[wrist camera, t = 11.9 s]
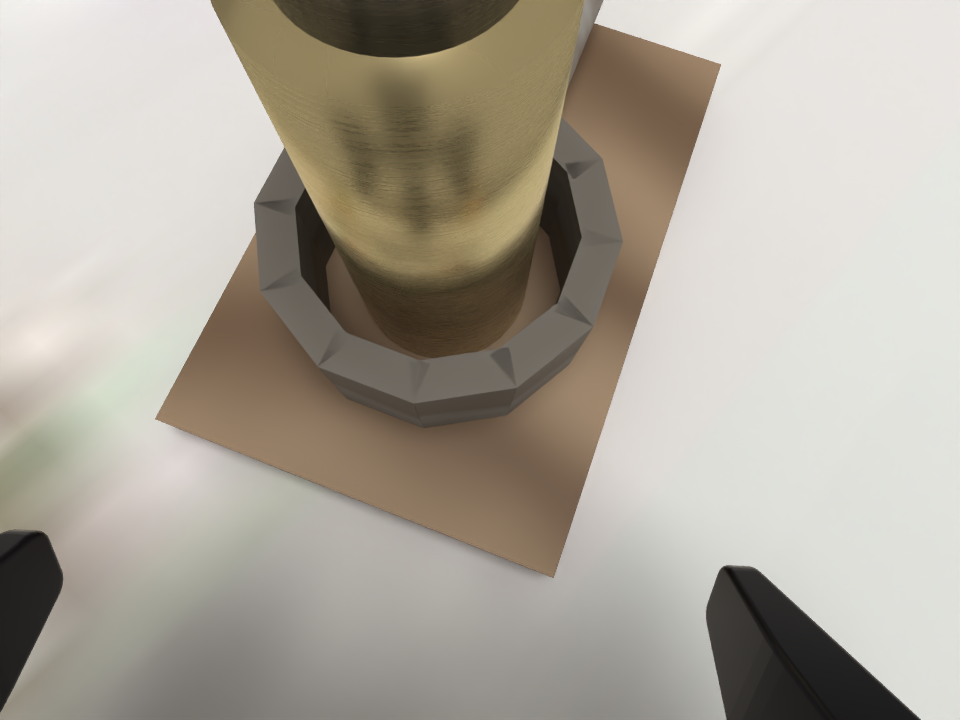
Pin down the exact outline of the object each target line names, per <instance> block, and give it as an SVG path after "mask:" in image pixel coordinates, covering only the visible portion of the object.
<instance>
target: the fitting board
mask: <svg viewBox="0 0 960 720" xmlns="http://www.w3.org/2000/svg"><path fill="white" fill-rule="evenodd" d="M602 2H603V0H585V2H584V7H583V11H582V16H581V21H580V26H579V31H578V36H577V41H576V46H575V51H574V56H573V61H572V66H571V71H570V76H569V81H568V86H567V91H566V96H565V101H564V106H563V111H562V115H561V120H560V125H559V130H558V135H557V140H556V145H555V150H554V155H553V160H552V165H551V170H550V175H549V180H548V185H547V190H546V195H545V200H544V205H543V210H542V215H541V219H540V224H539V229H538V234H537V239H536V244H535V249H534V254H533V259H532V264H531V269H530V274H529V279H528V284H527V289H526V294H525V298H524V302H523V305H522V308H521V310H520V312H519V314H518V316H517V318H516V319H515V321H514V323H513V324H512V326H511V327H510V328H509V329H508V330H507V331H506V333H505V334H504V335H502V336H501V337H500V338H499V339H498V340H497V341H495V342H494V343H492V344H491V345H489V346H488V347H486V348H484V349H482V350H480V351H478V352H473V353H466V354H460V355H453V356H446V357H439V358H431V357H425V356H421V355H418V354H415V353H412V352H410V351H408V350H405V349H403V348H402V347H400V346H398V345H397V344H395V343H394V342H393V341H391V340H390V339H389V338H388V337H386V336H385V334H384V333H383V332H382V331H381V330H380V329H379V328H378V326H377V325H376V324H375V322H374V321H373V319H372V317H371V315H370V313H369V311H368V309H367V307H366V305H365V303H364V301H363V299H362V297H361V295H360V293H359V291H358V290H357V288H356V286H355V284H354V282H353V280H352V278H351V276H350V274H349V272H348V270H347V268H346V266H345V264H344V262H343V260H342V258H341V256H340V254H339V252H338V250H337V249H336V247H335V245H334V243H333V241H332V239H331V237H330V235H329V233H328V231H327V229H326V227H325V225H324V223H323V221H322V219H321V217H320V215H319V213H318V211H317V209H316V207H315V206H314V204H313V202H312V200H311V198H310V196H309V194H308V192H307V190H306V188H305V186H304V184H303V182H302V180H301V178H300V176H299V174H298V172H297V170H296V168H295V166H294V164H293V163H292V161H291V159H290V157H289V155H288V153H287V151H286V149H285V147H284V149H283V151H282V153H281V155H280V157H279V158H278V160H277V162H276V164H275V166H274V167H273V169H272V171H271V173H270V175H269V177H268V178H267V180H266V182H265V184H264V186H263V187H262V189H261V191H260V193H259V195H258V197H257V198H256V200H255V202H254V210H255V225H256V233H255V235H254V237H253V238H252V240H251V242H250V244H249V246H248V248H247V250H246V251H245V253H244V255H243V257H242V259H241V261H240V263H239V264H238V266H237V268H236V270H235V272H234V274H233V276H232V277H231V279H230V281H229V283H228V285H227V287H226V289H225V290H224V292H223V294H222V296H221V298H220V300H219V301H218V303H217V305H216V307H215V309H214V311H213V313H212V314H211V316H210V318H209V320H208V322H207V324H206V326H205V327H204V329H203V331H202V333H201V335H200V337H199V339H198V340H197V342H196V344H195V346H194V348H193V350H192V351H191V353H190V355H189V357H188V359H187V361H186V363H185V364H184V366H183V368H182V370H181V372H180V374H179V376H178V377H177V379H176V381H175V383H174V385H173V387H172V389H171V390H170V392H169V394H168V396H167V398H166V400H165V401H164V403H163V405H162V407H161V409H160V411H159V413H158V414H157V416H156V418H155V419H156V420H159V421H161V422H164V423H166V424H169V425H171V426H174V427H176V428H179V429H181V430H184V431H186V432H189V433H191V434H194V435H196V436H199V437H201V438H204V439H206V440H209V441H211V442H214V443H216V444H219V445H221V446H224V447H226V448H229V449H231V450H234V451H236V452H239V453H241V454H244V455H246V456H249V457H251V458H254V459H256V460H259V461H261V462H264V463H266V464H269V465H271V466H274V467H276V468H279V469H281V470H284V471H287V472H289V473H292V474H294V475H297V476H299V477H302V478H304V479H307V480H309V481H312V482H314V483H317V484H319V485H322V486H324V487H327V488H329V489H332V490H334V491H337V492H339V493H342V494H344V495H347V496H349V497H352V498H354V499H357V500H359V501H362V502H364V503H367V504H369V505H372V506H374V507H377V508H379V509H382V510H384V511H387V512H389V513H392V514H394V515H397V516H399V517H402V518H404V519H407V520H409V521H412V522H414V523H417V524H419V525H422V526H424V527H427V528H429V529H432V530H435V531H437V532H440V533H442V534H445V535H447V536H450V537H452V538H455V539H457V540H460V541H462V542H465V543H467V544H470V545H472V546H475V547H477V548H480V549H482V550H485V551H487V552H490V553H492V554H495V555H497V556H500V557H502V558H505V559H507V560H510V561H512V562H515V563H517V564H520V565H522V566H525V567H527V568H530V569H532V570H535V571H537V572H540V573H542V574H545V575H547V576H550V577H552V578H554V575H555V572H556V569H557V566H558V563H559V560H560V557H561V554H562V551H563V548H564V545H565V541H566V538H567V535H568V532H569V529H570V526H571V523H572V520H573V517H574V514H575V511H576V508H577V505H578V502H579V499H580V496H581V492H582V489H583V486H584V483H585V480H586V477H587V474H588V471H589V468H590V465H591V462H592V459H593V456H594V453H595V450H596V446H597V443H598V440H599V437H600V434H601V431H602V428H603V425H604V422H605V419H606V416H607V413H608V410H609V407H610V404H611V400H612V397H613V394H614V391H615V388H616V385H617V382H618V379H619V376H620V373H621V370H622V367H623V364H624V361H625V358H626V354H627V351H628V348H629V345H630V342H631V339H632V336H633V333H634V330H635V327H636V324H637V321H638V318H639V315H640V312H641V309H642V305H643V302H644V299H645V296H646V293H647V290H648V287H649V284H650V281H651V278H652V275H653V272H654V269H655V266H656V263H657V259H658V256H659V253H660V250H661V247H662V244H663V241H664V238H665V235H666V232H667V229H668V226H669V223H670V220H671V217H672V213H673V210H674V207H675V204H676V201H677V198H678V195H679V192H680V189H681V186H682V183H683V180H684V177H685V174H686V171H687V168H688V164H689V161H690V158H691V155H692V152H693V149H694V146H695V143H696V140H697V137H698V134H699V131H700V128H701V125H702V122H703V118H704V115H705V112H706V109H707V106H708V103H709V100H710V97H711V94H712V91H713V88H714V85H715V82H716V79H717V76H718V72H719V69H720V66H721V64H718V63H715V62H712V61H709V60H706V59H703V58H699V57H696V56H693V55H690V54H687V53H684V52H681V51H678V50H675V49H672V48H669V47H665V46H662V45H659V44H656V43H653V42H650V41H647V40H644V39H641V38H638V37H635V36H632V35H628V34H625V33H622V32H619V31H616V30H613V29H610V28H607V27H604V26H601V25H598V24H594V22H595V20H596V17H597V15H598V12H599V10H600V7H601V5H602Z"/></svg>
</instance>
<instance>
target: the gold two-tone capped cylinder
mask: <svg viewBox="0 0 960 720" xmlns="http://www.w3.org/2000/svg"><path fill="white" fill-rule="evenodd" d="M584 2H585V0H211V3H212V6H213V8H214V10H215V12H216V14H217V16H218V18H219V20H220V22H221V24H222V26H223V28H224V30H225V32H226V34H227V36H228V38H229V39H230V41H231V43H232V45H233V47H234V49H235V51H236V53H237V55H238V57H239V59H240V61H241V63H242V65H243V67H244V69H245V71H246V73H247V75H248V77H249V79H250V80H251V82H252V84H253V86H254V88H255V90H256V92H257V94H258V96H259V98H260V100H261V102H262V104H263V106H264V108H265V110H266V112H267V114H268V116H269V118H270V120H271V122H272V123H273V125H274V127H275V129H276V131H277V133H278V135H279V137H280V139H281V141H282V143H283V145H284V147H285V149H286V151H287V153H288V155H289V157H290V159H291V161H292V163H293V164H294V166H295V168H296V170H297V172H298V174H299V176H300V178H301V180H302V182H303V184H304V186H305V188H306V190H307V192H308V194H309V196H310V198H311V200H312V202H313V204H314V206H315V207H316V209H317V211H318V213H319V215H320V217H321V219H322V221H323V223H324V225H325V227H326V229H327V231H328V233H329V235H330V237H331V239H332V241H333V243H334V245H335V247H336V249H337V250H338V252H339V254H340V256H341V258H342V260H343V262H344V264H345V266H346V268H347V270H348V272H349V274H350V276H351V278H352V280H353V282H354V284H355V286H356V288H357V290H358V291H359V293H360V295H361V297H362V299H363V301H364V303H365V305H366V307H367V309H368V311H369V313H370V315H371V317H372V319H373V321H374V322H375V324H376V325H377V326H378V328H379V329H380V330H381V331H382V332H383V333H384V334H385V336H386V337H388V338H389V339H390V340H391V341H393V342H394V343H395V344H397V345H398V346H400V347H402V348H403V349H405V350H408V351H410V352H412V353H415V354H418V355H421V356H425V357H431V358H439V357H446V356H453V355H460V354H466V353H473V352H478V351H480V350H482V349H484V348H486V347H488V346H489V345H491V344H492V343H494V342H495V341H497V340H498V339H499V338H500V337H501V336H502V335H504V334H505V333H506V331H507V330H508V329H509V328H510V327H511V326H512V324H513V323H514V321H515V319H516V318H517V316H518V314H519V312H520V310H521V308H522V305H523V302H524V298H525V294H526V289H527V284H528V279H529V274H530V269H531V264H532V259H533V254H534V249H535V244H536V239H537V234H538V229H539V224H540V219H541V215H542V210H543V205H544V200H545V195H546V190H547V185H548V180H549V175H550V170H551V165H552V160H553V155H554V150H555V145H556V140H557V135H558V130H559V125H560V120H561V115H562V111H563V106H564V101H565V96H566V91H567V86H568V81H569V76H570V71H571V66H572V61H573V56H574V51H575V46H576V41H577V36H578V31H579V26H580V21H581V16H582V11H583V7H584Z"/></svg>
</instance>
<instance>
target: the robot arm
mask: <svg viewBox="0 0 960 720" xmlns="http://www.w3.org/2000/svg"><path fill="white" fill-rule="evenodd" d="M62 585H63V572H62V569H61V567H60V564H59V562H58V559H57V557H56V555H55V552H54V550H53V547H52V545H51V542H50V540H49V538H48V536H47V535H46V534H45V533H43V532H42V531H37V530H16V529H14V530H8V531H5V532H3V533H1V534H0V712H1V710H2V709H3V707H4V705H5V703H6V701H7V699H8V697H9V695H10V694H11V692H12V690H13V688H14V686H15V684H16V682H17V680H18V678H19V676H20V674H21V672H22V669H23V667H24V665H25V663H26V661H27V659H28V657H29V655H30V653H31V651H32V649H33V647H34V645H35V643H36V641H37V639H38V637H39V635H40V633H41V631H42V629H43V627H44V625H45V623H46V621H47V618H48V616H49V614H50V612H51V610H52V608H53V606H54V604H55V602H56V600H57V598H58V596H59V594H60V591H61V588H62ZM706 620H707V627H708V632H709V637H710V641H711V646H712V651H713V656H714V661H715V665H716V670H717V675H718V680H719V685H720V690H721V694H722V699H723V704H724V709H725V714H726V719H727V720H921V719H920V718H919V717H918V716H916V715H915V714H914V713H913V712H912V711H911V710H910V709H909V708H908V707H907V706H906V705H905V704H903V703H902V702H901V701H900V700H899V699H898V698H897V697H896V696H895V695H894V694H893V693H891V692H890V691H889V690H888V689H887V688H886V687H885V686H884V685H883V684H882V683H881V682H879V681H878V680H877V679H876V678H875V677H874V676H873V675H872V674H871V673H870V672H869V671H868V670H866V669H865V668H864V667H863V666H862V665H861V664H860V663H859V662H858V661H857V660H856V659H854V658H853V657H852V656H851V655H850V654H849V653H848V652H847V651H846V650H845V649H844V648H842V647H841V646H840V645H839V644H838V643H837V642H836V641H835V640H834V639H833V638H832V637H830V636H829V635H828V634H827V633H826V632H825V631H824V630H823V629H822V628H821V627H820V626H819V625H817V624H816V623H815V622H814V621H813V620H812V619H811V618H810V617H809V616H808V615H807V614H805V613H804V612H803V611H802V610H801V609H800V608H799V607H798V606H797V605H796V604H795V603H793V602H792V601H791V600H790V599H789V598H788V597H787V596H786V595H785V594H784V593H783V592H782V591H780V590H779V589H778V588H777V587H776V586H775V585H774V584H773V583H772V582H771V581H770V580H768V579H767V578H766V577H765V576H764V575H763V574H762V573H761V572H760V571H758V570H757V569H755V568H753V567H750V566H732V565H726V566H723V567H722V568H721V569H720V571H719V573H718V575H717V578H716V581H715V584H714V587H713V590H712V593H711V595H710V598H709V601H708V604H707V609H706Z"/></svg>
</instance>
